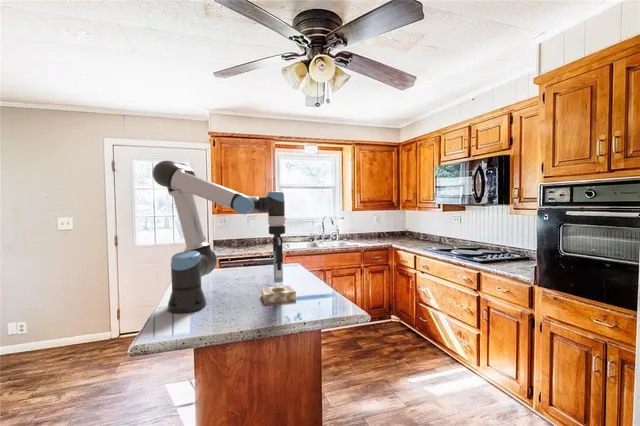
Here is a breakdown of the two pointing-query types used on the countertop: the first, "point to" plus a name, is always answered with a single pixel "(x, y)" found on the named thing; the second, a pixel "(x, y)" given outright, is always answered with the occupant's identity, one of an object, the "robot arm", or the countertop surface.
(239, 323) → the countertop surface
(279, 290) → the socket block
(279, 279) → the dowel
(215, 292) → the countertop surface
